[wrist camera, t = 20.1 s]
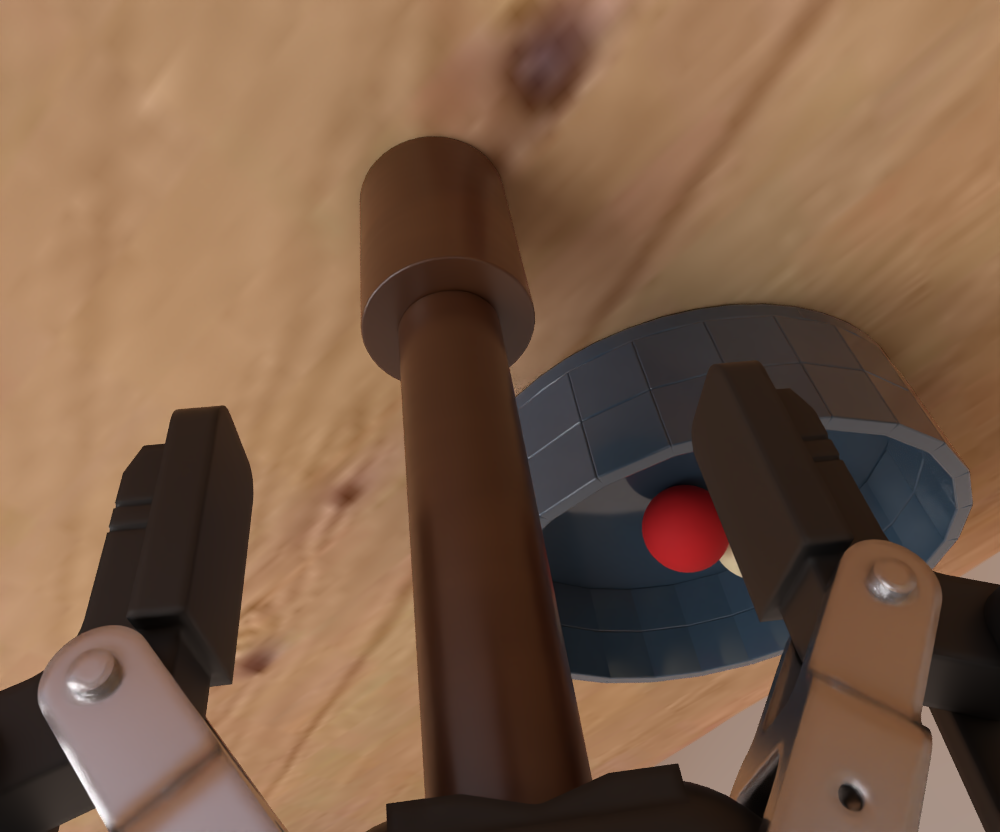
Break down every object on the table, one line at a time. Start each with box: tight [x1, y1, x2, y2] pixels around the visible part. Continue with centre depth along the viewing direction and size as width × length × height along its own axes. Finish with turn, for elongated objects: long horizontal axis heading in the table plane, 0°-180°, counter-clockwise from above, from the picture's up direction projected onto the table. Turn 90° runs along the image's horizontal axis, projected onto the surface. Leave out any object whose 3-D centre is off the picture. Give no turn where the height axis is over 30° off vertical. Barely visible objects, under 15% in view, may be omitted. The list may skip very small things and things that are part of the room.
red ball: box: [642, 485, 729, 573], centre depth 26 cm, size 3×3×3 cm
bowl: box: [515, 304, 973, 683], centre depth 25 cm, size 15×15×4 cm
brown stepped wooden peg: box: [360, 137, 592, 804], centre depth 13 cm, size 3×3×14 cm
